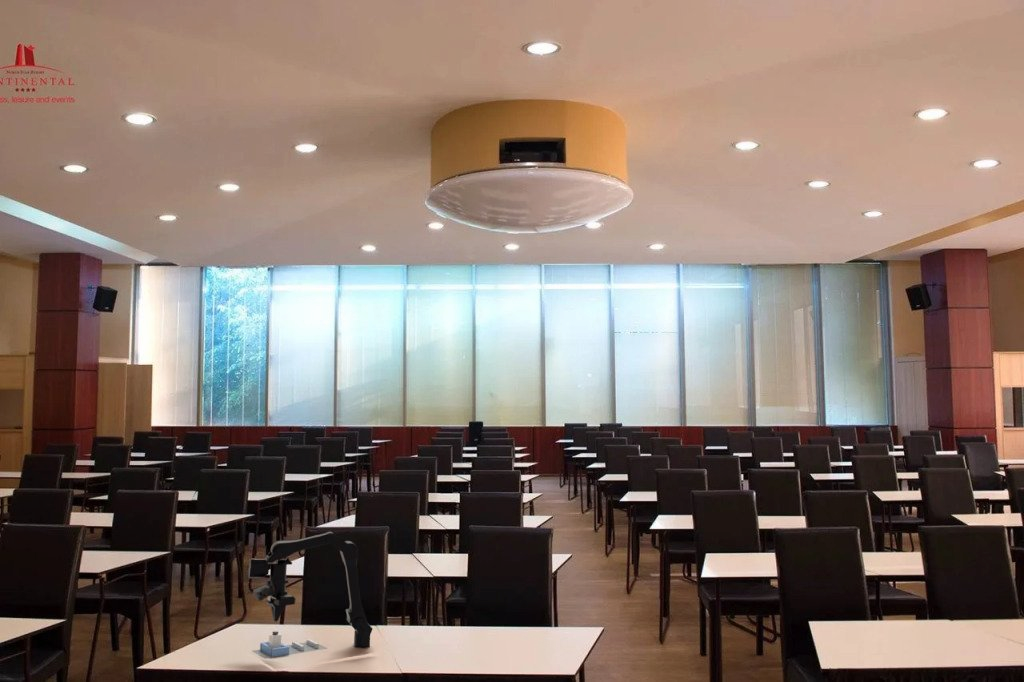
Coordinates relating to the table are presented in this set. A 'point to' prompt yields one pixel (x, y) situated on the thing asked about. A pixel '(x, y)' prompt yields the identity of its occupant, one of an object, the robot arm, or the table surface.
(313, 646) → the board
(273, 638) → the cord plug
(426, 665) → the table surface
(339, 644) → the table surface
